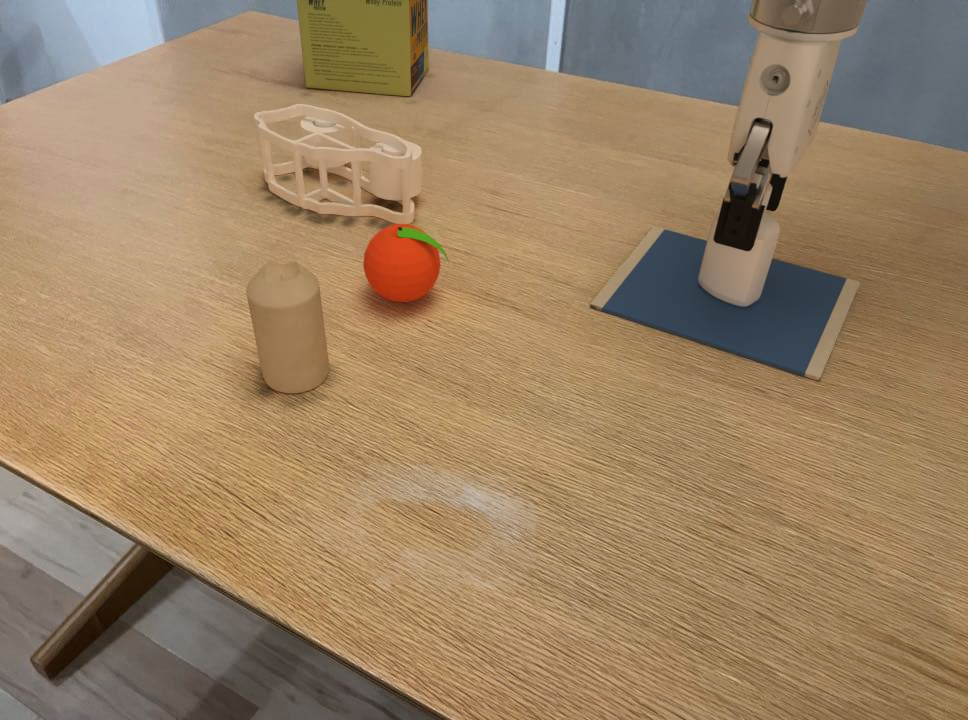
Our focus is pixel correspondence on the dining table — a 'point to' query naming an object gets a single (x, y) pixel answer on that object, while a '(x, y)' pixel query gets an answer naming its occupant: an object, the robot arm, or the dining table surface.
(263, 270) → the candle
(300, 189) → the cream open lattice frame
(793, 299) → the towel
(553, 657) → the dining table surface
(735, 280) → the eye dropper bottle
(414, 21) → the protein box
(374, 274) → the clementine
